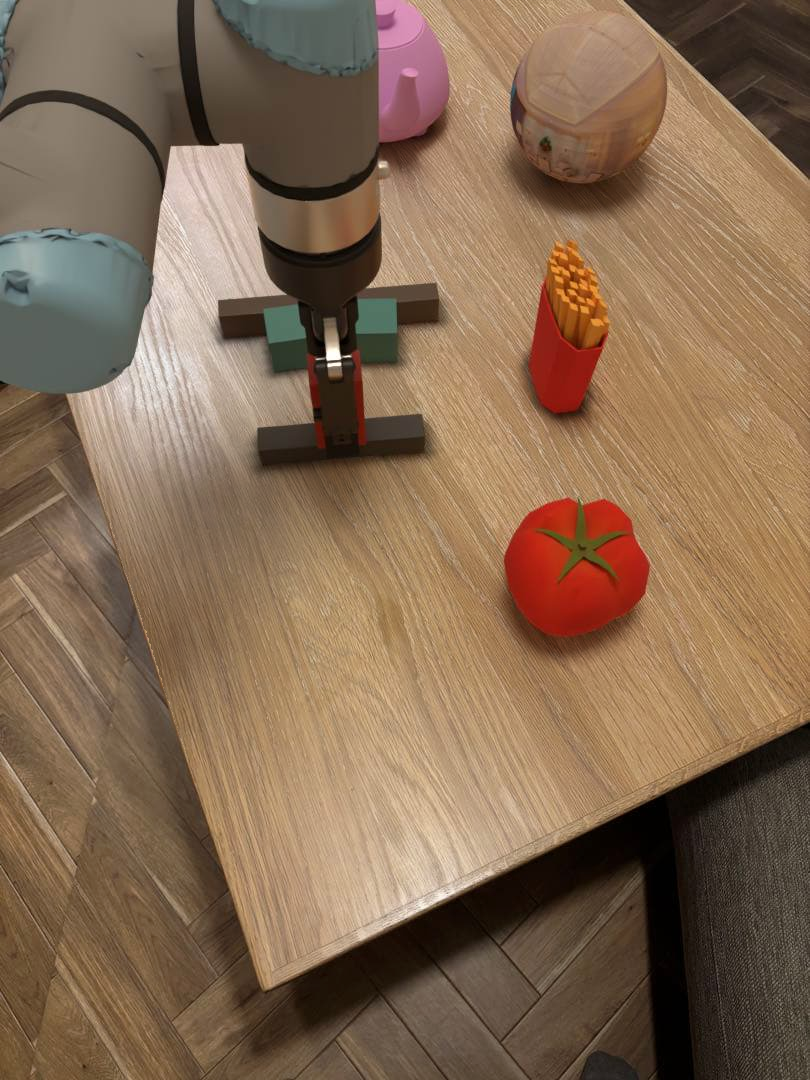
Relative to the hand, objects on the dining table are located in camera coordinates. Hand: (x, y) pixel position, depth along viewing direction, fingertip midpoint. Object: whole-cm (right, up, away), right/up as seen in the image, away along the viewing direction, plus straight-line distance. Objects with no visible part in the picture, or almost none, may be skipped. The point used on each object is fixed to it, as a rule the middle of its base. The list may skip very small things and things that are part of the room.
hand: (341, 434), depth 73 cm
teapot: (+3, +37, +21) cm, 42 cm away
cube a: (-5, +8, +7) cm, 12 cm away
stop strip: (-2, +12, +8) cm, 14 cm away
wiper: (0, -1, +2) cm, 2 cm away
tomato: (+18, -13, -4) cm, 23 cm away
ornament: (+23, +31, +18) cm, 43 cm away
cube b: (+3, +9, +7) cm, 12 cm away
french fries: (+19, +6, +6) cm, 20 cm away
